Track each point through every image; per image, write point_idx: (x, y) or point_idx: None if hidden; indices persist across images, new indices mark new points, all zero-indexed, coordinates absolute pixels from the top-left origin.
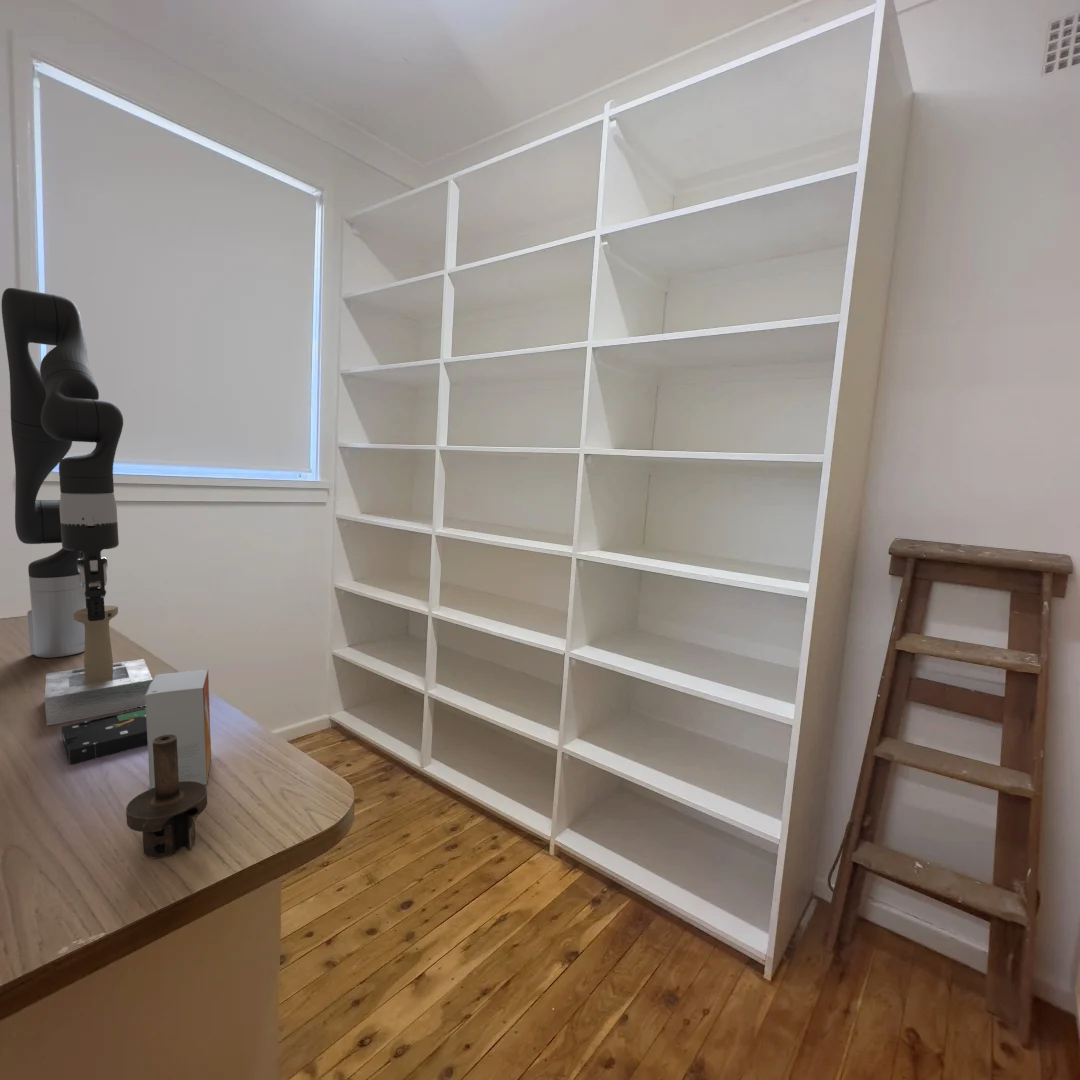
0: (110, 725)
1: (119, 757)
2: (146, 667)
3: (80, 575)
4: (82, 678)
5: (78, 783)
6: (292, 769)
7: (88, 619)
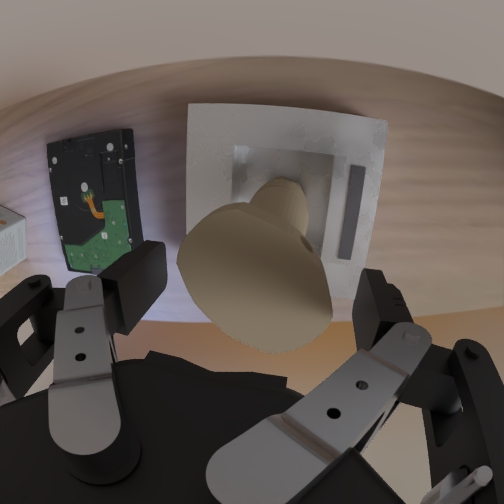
0: (90, 189)
1: None
2: None
3: (56, 345)
4: (330, 178)
5: (25, 152)
6: (5, 292)
7: (146, 240)
